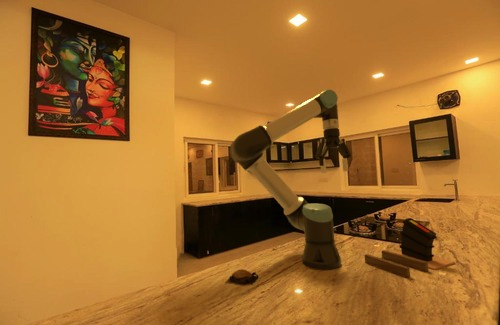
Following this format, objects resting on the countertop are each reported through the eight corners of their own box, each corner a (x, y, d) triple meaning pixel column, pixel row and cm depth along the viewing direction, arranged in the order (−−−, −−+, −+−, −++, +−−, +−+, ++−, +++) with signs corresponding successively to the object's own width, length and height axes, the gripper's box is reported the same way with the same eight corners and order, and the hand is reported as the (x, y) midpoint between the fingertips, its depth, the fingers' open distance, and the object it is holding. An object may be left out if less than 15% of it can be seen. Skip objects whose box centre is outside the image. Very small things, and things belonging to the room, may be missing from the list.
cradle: (407, 277, 78) (406, 268, 79) (365, 262, 94) (364, 254, 94) (428, 271, 83) (427, 262, 83) (384, 257, 98) (384, 250, 98)
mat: (434, 270, 83) (434, 268, 83) (387, 256, 100) (387, 254, 100) (455, 263, 88) (455, 261, 88) (407, 251, 104) (407, 249, 104)
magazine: (399, 246, 103) (410, 217, 98) (429, 269, 92) (443, 237, 87) (393, 248, 102) (403, 218, 97) (422, 271, 91) (436, 238, 86)
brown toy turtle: (224, 285, 83) (223, 274, 83) (234, 275, 91) (233, 265, 91) (252, 287, 80) (251, 276, 80) (260, 277, 87) (259, 267, 88)
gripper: (315, 126, 109) (319, 172, 108) (356, 128, 119) (360, 170, 117) (305, 130, 116) (309, 173, 115) (345, 131, 126) (348, 171, 124)
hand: (335, 172), depth 116 cm, fingers open, 13 cm apart
